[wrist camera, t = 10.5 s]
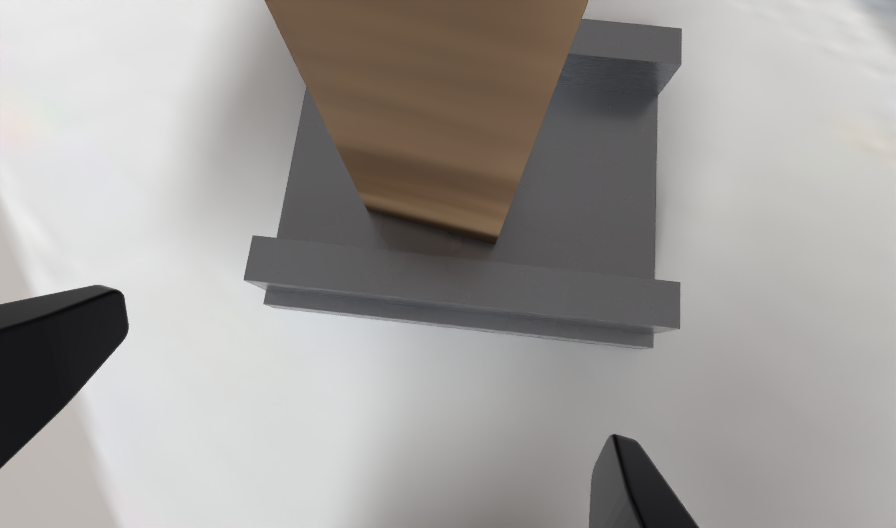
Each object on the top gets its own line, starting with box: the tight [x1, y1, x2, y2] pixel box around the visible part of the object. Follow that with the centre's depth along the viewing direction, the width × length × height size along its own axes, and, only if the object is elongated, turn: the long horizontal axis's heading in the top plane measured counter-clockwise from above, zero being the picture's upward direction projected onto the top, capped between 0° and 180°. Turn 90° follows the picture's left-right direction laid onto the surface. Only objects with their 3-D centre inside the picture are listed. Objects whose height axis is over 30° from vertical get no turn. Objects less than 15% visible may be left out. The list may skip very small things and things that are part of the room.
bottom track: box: [244, 19, 682, 349], centre depth 18 cm, size 12×14×3 cm
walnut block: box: [265, 0, 588, 244], centre depth 13 cm, size 5×5×12 cm
